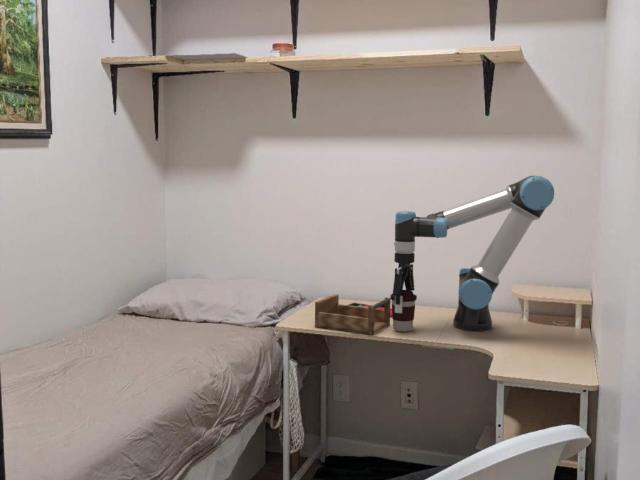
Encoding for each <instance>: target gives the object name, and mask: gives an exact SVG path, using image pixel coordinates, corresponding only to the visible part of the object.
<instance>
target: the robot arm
mask: <svg viewBox="0 0 640 480" xmlns="http://www.w3.org/2000/svg"><path fill="white" fill-rule="evenodd" d="M554 197H555V188H554V186H553V184H552V182H551V181H550V180H549V179H548V178H546V177H544V176H541V175H529V176H526V177H525V178H523V179H521V180H518V181H516V182H513V183H512V184H509V185H507V187H506V188H505V189H502V190H499V191H497V192H494V193H490V194H488V195H485V196H482V197H480V198H476V199H473V200H471V201H468V202H467V201H466V202H465V203H461V204H459V205H456V206H453V207H450V208H447V209H445V210H442V211H438V212H435V213H431V214H428V215H427V216H424V217H423V216H422V217H421V216H417V214H416V211H411V210H400V211H397V212H396V213H395V221H394V243H393V246H394V251H395V253H394V258H393V259H394V263H398V267H397V268H395V269H394V278H393V279H394V281H393V289H392V294H393V295H394V296H395V313H402V299H403V296H401V295H402V290H404V287H405V290H410V291H412V292H414V291H415V279H414V278H415V276H414V263H415V258H416V257H415V251H416V248H415V247H416V238H420V237H421V238H436V239H439V238H441V239H442V238H447V236H448V230H450V229H453V228H457V227H459V226H462V225H465V224H467V223H472V222H474V221H477V220H480V219H483V218H486V217H488V216H493V215H495V214H498V213H501V212H504V211H507V210H510V209H511V210H510V211H509V213H508V214H507V216H506V218H505V219H504V221H503V223H502V224H501V226H500V228H499V229H498V230H497V232H496V234H495V236H494V237H493V239H492V240H491V242H490V244H489V245H488V248H486V251H485V252H484V254H483V256H482V257H481V259H480V260H479V262H478V264H476V265H473V266H471V267H470V268H467V267H465V268H461V269H460V270H459V274H458V277H459V280H458V281H459V283H458V301H457V302H458V303H457V309H456V312H455V314H454V316H453V319H452V326H453V327H455V328H457V329H461V330H465V331H488V330H491V329H492V328H493V320H492V319H493V318H492V316H491V312H490V308H489V307H490V305H489V304H490V302H491V301H492V298H493V295H494V292H496V289H497V287H498V286H499V285H500V280H499V279H500V278H499V276H500V275H501V273H502V271H503V269H504V268H505V267H506V265H507V264H508V262H509V260H510V258H511V257H512V255H513V254H514V252H515V250H516V249H517V247H518V246H519V244H520V243H521V241H522V239H523V238H524V236H525V234H526V232H527V231H528V229H530V228H529V227H530V226H531V225H532V223H533V222H534V221H535V220H540V218H541V217H542V215H543V214H544V212H545V210H546V209H547V208H548V207H549V206H550V205H551V204H552V203H553V201H554V199H555V198H554Z"/></svg>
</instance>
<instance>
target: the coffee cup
mask: <svg viewBox="0 0 640 480" xmlns="http://www.w3.org/2000/svg"><path fill="white" fill-rule="evenodd" d="M401 296H403V299H402V313H395V296H394V295H393V293H391V294H390V297H389V298H391V309H392V317H391V318H392V325H393V326H392V327H393V330H394V331H396V332H400V333H401V332H402V333H405V332H406V333H407V332H411V331H412V330H413V327H414V326H413V325H414V320H415V311H416V310H415V309H416V301H417V300H418V297H417V294H415V293H414V291H410V290H406V289H403V290H402V295H401Z"/></svg>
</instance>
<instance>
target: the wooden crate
mask: <svg viewBox="0 0 640 480" xmlns="http://www.w3.org/2000/svg"><path fill="white" fill-rule="evenodd" d="M339 299H340V296H339V294H338V293H337V294H336V293H335V294H332V295H329V296H328V297H325V298H322V299H319V300H317V301H315V302H314V328H317V329H323V330H331V331H337V332H344V333H345V332H346V333H353V334H358V335H367V336H374V335H375V334H377V333H379V332H381V331H383V330H384V329H387V328H388V327H389V326H391V317H390V308H391V303H392V300H391V298H390V297H385V298H384V299H383V300H381V301H379V302H377V303H375V304H373V305H372V304H368V305H369V306H368V308H366V307H358V306H349V304H339ZM382 305H384V310H383V309H376V308H378V307H380V306H382Z"/></svg>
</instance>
